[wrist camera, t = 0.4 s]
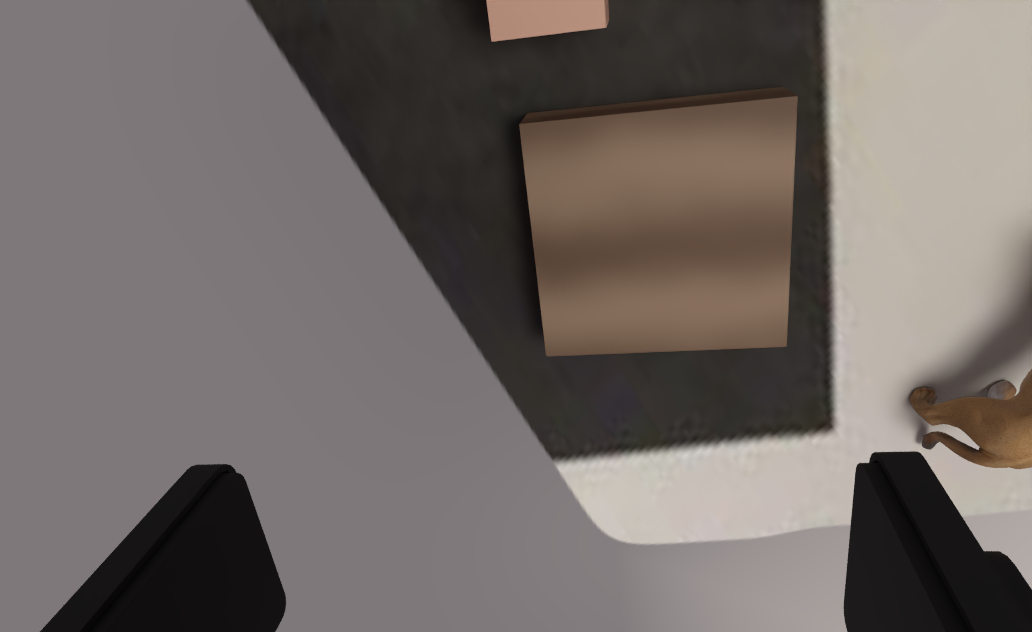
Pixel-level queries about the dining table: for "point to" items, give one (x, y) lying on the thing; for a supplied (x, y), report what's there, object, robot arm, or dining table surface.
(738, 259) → the walnut base
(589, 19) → the terracotta block
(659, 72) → the dining table surface
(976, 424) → the lion figurine
